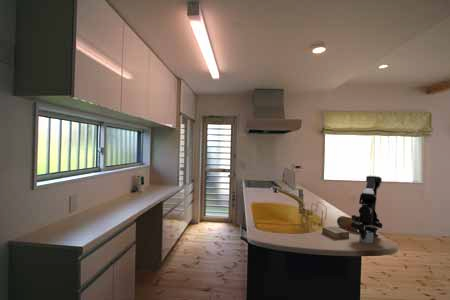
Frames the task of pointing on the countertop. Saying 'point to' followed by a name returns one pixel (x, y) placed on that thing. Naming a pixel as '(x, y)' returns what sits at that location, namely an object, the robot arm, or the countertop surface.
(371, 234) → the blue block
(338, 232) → the walnut block
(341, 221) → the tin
